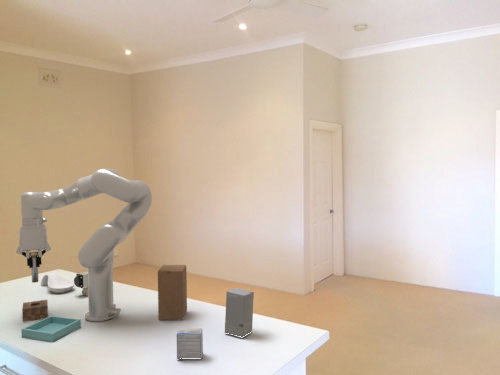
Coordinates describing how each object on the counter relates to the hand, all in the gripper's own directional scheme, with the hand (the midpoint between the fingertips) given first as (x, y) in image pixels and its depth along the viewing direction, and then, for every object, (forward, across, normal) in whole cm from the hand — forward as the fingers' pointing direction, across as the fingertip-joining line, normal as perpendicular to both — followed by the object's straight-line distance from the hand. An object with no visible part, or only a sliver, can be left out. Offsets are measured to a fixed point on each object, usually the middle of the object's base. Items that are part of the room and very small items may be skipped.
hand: (34, 266), depth 167 cm
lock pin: (+6, 0, 0) cm, 6 cm away
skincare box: (+22, -66, +55) cm, 89 cm away
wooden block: (+21, -50, +26) cm, 60 cm away
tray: (+21, -5, +21) cm, 30 cm away
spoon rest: (+21, -8, -38) cm, 44 cm away
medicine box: (+22, -44, +64) cm, 81 cm away
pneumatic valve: (+21, -22, -21) cm, 36 cm away
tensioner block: (+21, 0, 0) cm, 21 cm away
